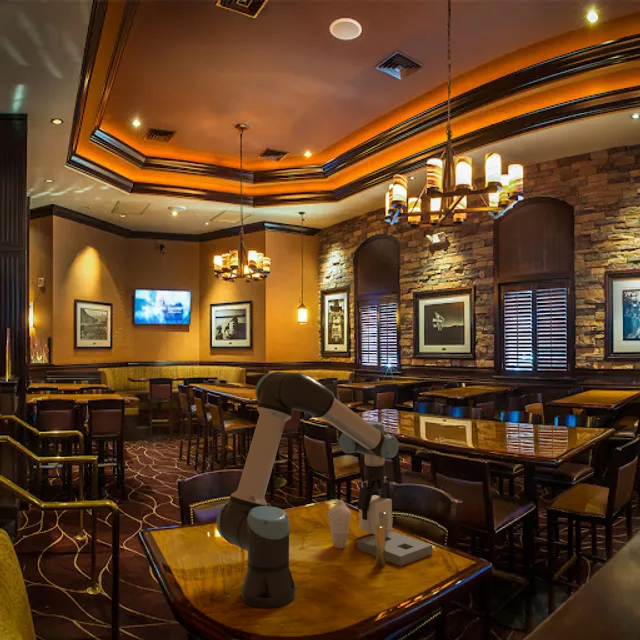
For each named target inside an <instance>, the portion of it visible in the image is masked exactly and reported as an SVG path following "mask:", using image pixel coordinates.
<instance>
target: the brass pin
mask: <svg viewBox="0 0 640 640" xmlns="http://www.w3.org/2000/svg"><path fill="white" fill-rule="evenodd" d="M374 535H375V536H376V556H375V566H377V567H380V568H381V567H385V566H386V560H385V527H384V526H382V525H377V526H375V534H374Z"/></svg>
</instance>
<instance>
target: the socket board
mask: <svg viewBox="0 0 640 640" xmlns="http://www.w3.org/2000/svg"><path fill="white" fill-rule="evenodd" d="M356 542H357V544H356V545H357V549H358V550H360V551H361V552H365V553H367V554H369V555H372V556H374V557H376V536H375V534H372V535H369V536H366V537H362V538H360V539H357V541H356ZM433 554H434V553H433V544H431V543H428V542H425V541H422V540H420V539H416V538H413V537H411V536H407V535H404V534H402V533H399V532H395V531H393V530H388V540H387V541H385V562H389V563H392V564H394V565H397V566H400V567H402V566H405V565H407V564H410V563H412V562H416V561H419V560H421V559H423V558H425V557H426V558H427V557H428V556H431V555H433Z"/></svg>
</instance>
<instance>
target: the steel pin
mask: <svg viewBox="0 0 640 640" xmlns="http://www.w3.org/2000/svg"><path fill="white" fill-rule="evenodd" d="M379 525H382V526H384V527H385V541H387V540H388V512H385V511H381V512H379Z"/></svg>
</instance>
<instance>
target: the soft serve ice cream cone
mask: <svg viewBox="0 0 640 640" xmlns="http://www.w3.org/2000/svg"><path fill="white" fill-rule="evenodd" d="M327 516H328V521H329V527H330V529H329V531H330V533H331V538H332V543H333V548H335V549H344V548H346V547H347V543H348V536H349V531H350V529H349V528H350V523H351V522H350V520H351V517H352V512H351V510H350V509H349V508H348V507H347V506H346V503H345V502H344V501H343V500H342V499H339V500H338V501H337V502H336V503H335V504H334V505H333V506H332V507H331V508H329V509H328V512H327Z"/></svg>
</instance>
